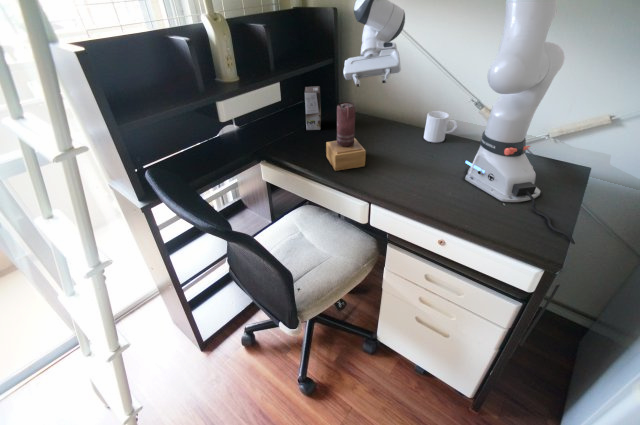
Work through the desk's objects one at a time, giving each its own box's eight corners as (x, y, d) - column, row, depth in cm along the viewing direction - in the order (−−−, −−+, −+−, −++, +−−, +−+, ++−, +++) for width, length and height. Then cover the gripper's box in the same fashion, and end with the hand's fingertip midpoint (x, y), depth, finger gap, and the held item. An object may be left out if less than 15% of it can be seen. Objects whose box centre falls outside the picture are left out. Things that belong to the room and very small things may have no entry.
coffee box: (321, 130, 142) (319, 92, 132) (306, 130, 142) (304, 92, 132) (321, 122, 149) (320, 85, 139) (307, 122, 149) (305, 86, 139)
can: (340, 148, 112) (340, 108, 104) (334, 141, 117) (334, 102, 109) (356, 146, 114) (358, 106, 105) (350, 138, 119) (351, 100, 110)
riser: (364, 166, 115) (365, 149, 111) (335, 171, 113) (335, 154, 109) (354, 152, 124) (354, 136, 120) (326, 156, 122) (326, 141, 118)
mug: (450, 146, 125) (455, 122, 119) (420, 139, 131) (424, 115, 125) (456, 139, 130) (462, 115, 124) (428, 132, 136) (432, 109, 130)
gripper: (343, 51, 119) (339, 81, 114) (400, 41, 113) (399, 72, 108) (347, 65, 125) (343, 93, 120) (401, 56, 118) (400, 86, 113)
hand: (370, 83), depth 114 cm, fingers open, 8 cm apart
